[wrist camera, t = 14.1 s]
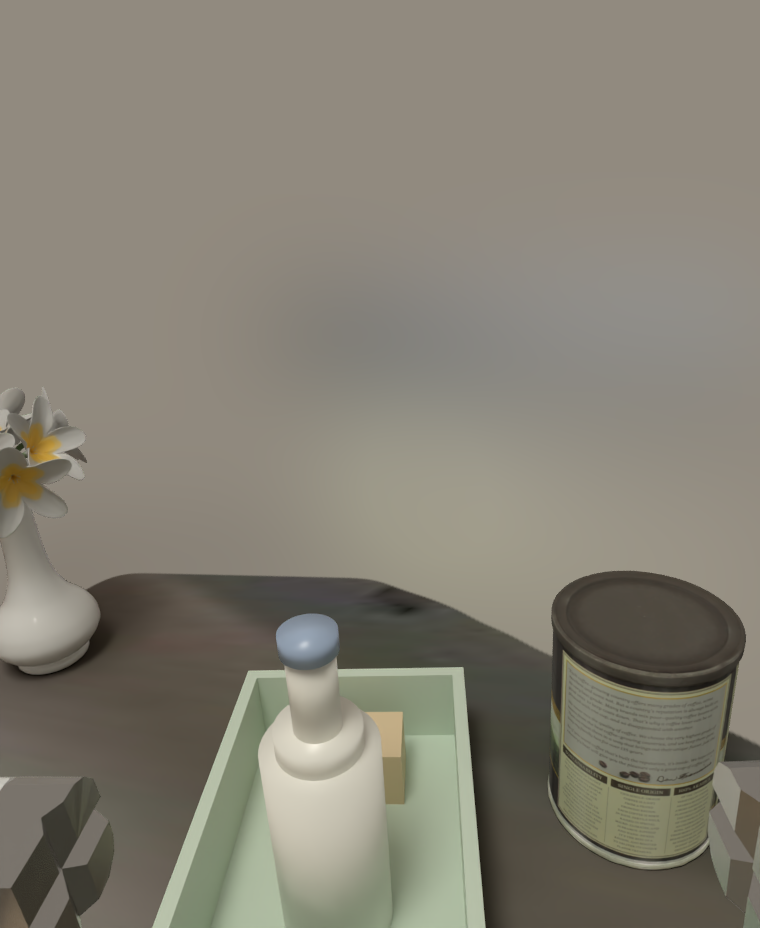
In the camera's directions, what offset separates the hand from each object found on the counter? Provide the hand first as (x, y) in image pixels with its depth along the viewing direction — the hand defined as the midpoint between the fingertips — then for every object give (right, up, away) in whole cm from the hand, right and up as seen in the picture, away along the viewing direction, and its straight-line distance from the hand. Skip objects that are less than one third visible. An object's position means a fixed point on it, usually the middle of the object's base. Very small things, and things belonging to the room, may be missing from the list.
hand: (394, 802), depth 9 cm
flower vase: (-30, -14, +53) cm, 62 cm away
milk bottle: (-2, -20, +28) cm, 35 cm away
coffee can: (+16, -18, +34) cm, 42 cm away
